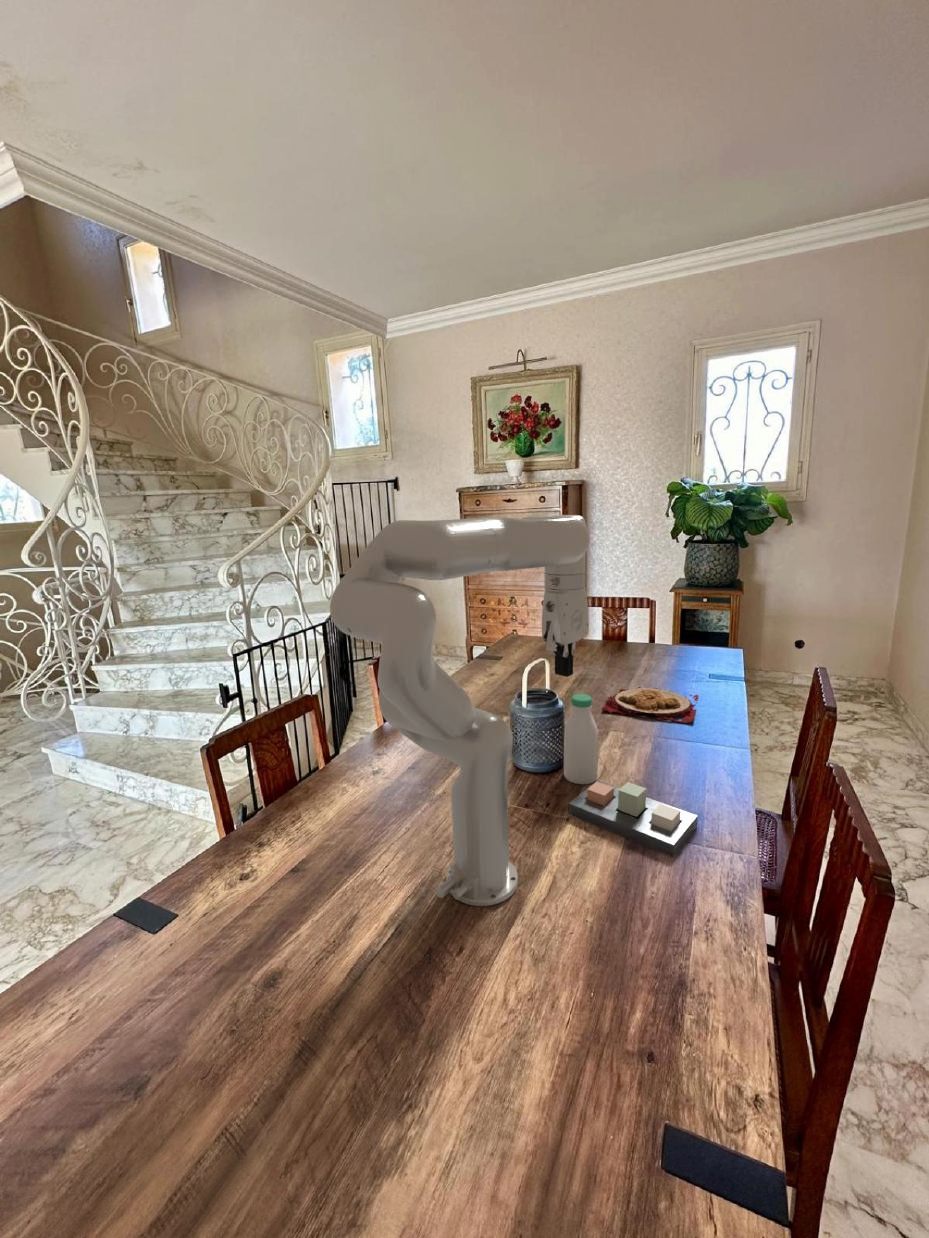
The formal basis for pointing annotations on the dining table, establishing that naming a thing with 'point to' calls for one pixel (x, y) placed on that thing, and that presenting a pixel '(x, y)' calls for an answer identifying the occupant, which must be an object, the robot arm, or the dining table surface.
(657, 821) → the ivory key
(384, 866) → the dining table surface
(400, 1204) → the dining table surface
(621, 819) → the panel
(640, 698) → the plate with food
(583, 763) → the milk bottle
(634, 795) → the sage key
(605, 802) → the terracotta key
